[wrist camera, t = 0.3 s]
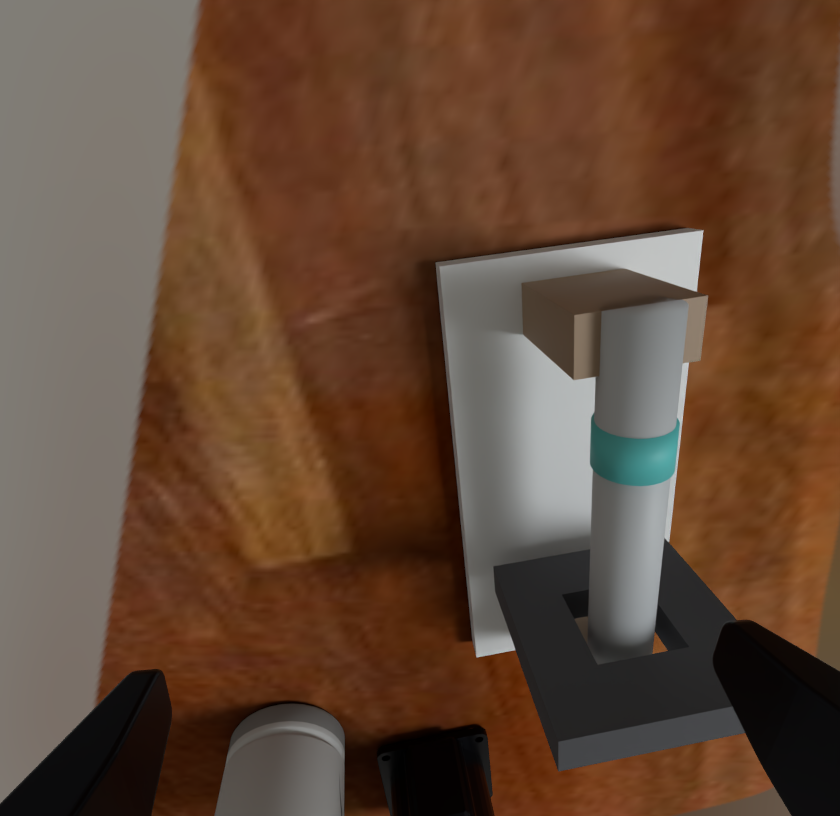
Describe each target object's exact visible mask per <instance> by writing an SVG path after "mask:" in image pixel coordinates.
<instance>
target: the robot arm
mask: <svg viewBox="0 0 840 816" xmlns="http://www.w3.org/2000/svg"><path fill="white" fill-rule="evenodd" d="M712 662H713V667H714V670H715V673H716V675H717V677H718V679H719V681H720V683H721V685H722V687H723V689H724V691H725V693H726V695H727V697H728V699H729V701H730V703H731V705H732V707H733V709H734V711H735V713H736V715H737V717H738V719H739V721H740V723H741V725H742V727H743V729H744V731H745V733H746V735H747V737H748V739H749V741H750V743H751V745H752V747H753V749H754V751H755V753H756V755H757V757H758V759H759V761H760V763H761V765H762V766H763V768H764V770H765V772H766V774H767V775H768V777H769V779H770V780H771V782H772V784H773V786H774V787H775V789H776V790H777V792H778V794H779V796H780V797H781V799H782V800H783V802H784V804H785V806H786V807H787V809H788V811H789V812H790V814H791V816H840V671H838V670H836V669H835V668H833V667H831V666H830V665H828V664H826V663H824V662H823V661H821V660H819V659H818V658H816V657H814V656H812V655H811V654H809V653H807V652H806V651H804V650H802V649H800V648H799V647H797V646H795V645H793V644H792V643H790V642H788V641H787V640H785V639H783V638H781V637H780V636H778V635H776V634H775V633H773V632H771V631H769V630H768V629H766V628H764V627H763V626H761V625H759V624H757V623H755V622H754V621H751V620H735V621H728V622H726V623H725V624H723V626H722V628H721V631H720V634H719V637H718V640H717V643H716V646H715V649H714V652H713V656H712ZM171 719H172V707H171V702H170V698H169V693H168V689H167V685H166V681H165V676H164V674H163V672H162V671H161V670H159V669H151V670H139V671H134V672H132V673H130V674H129V675H127V676H126V677H125V678H124V679H123V680H122V681H121V682H120V683H119V684H118V685H117V686H116V687H115V688H114V689H113V690H112V691H111V692H110V693H109V694H108V695H107V696H106V697H105V698H104V699H103V700H102V701H101V702H100V703H99V704H98V705H97V706H96V707H95V708H94V709H93V710H92V711H91V712H90V713H89V715H88V716H87V717H86V718H85V719H84V720H83V721H82V722H81V723H80V724H79V725H78V726H77V727H76V728H75V729H74V730H73V731H72V732H71V733H70V734H69V735H68V736H67V737H66V738H65V739H64V740H63V741H62V742H61V743H60V744H59V745H58V746H57V747H56V748H55V749H54V750H53V751H52V752H51V753H50V754H49V755H48V756H47V757H46V758H45V759H44V760H43V761H42V762H41V763H40V764H39V765H38V766H37V767H36V768H35V769H34V770H33V771H32V772H31V773H30V774H29V775H28V776H27V777H26V778H25V779H24V780H23V781H22V782H21V783H20V784H19V785H18V786H17V787H16V788H15V789H14V790H13V791H12V792H11V793H10V794H9V796H7V797H6V798H5V799H4V800H3V802H1V804H0V816H151V814H152V809H153V804H154V800H155V795H156V790H157V786H158V781H159V777H160V772H161V767H162V763H163V758H164V754H165V749H166V744H167V740H168V735H169V730H170V726H171ZM377 760H378V765H379V769H380V773H381V777H382V782H383V786H384V790H385V794H386V799H387V803H388V807H389V811H390V815H391V816H494V811H493V807H492V803H491V797H492V794H493V793H492V782H491V771H490V760H489V749H488V738H487V734H486V731H485V729H484V728H481V727H478V728H472V729H467V730H462V731H457V732H452V733H447V734H442V735H437V736H432V737H427V738H422V739H417V740H412V741H407V742H402V743H397V744H392V745H387V746H383V747H380V748H379V749H378V750H377Z"/></svg>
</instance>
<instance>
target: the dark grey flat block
mask: <svg viewBox="0 0 840 816" xmlns="http://www.w3.org/2000/svg"><path fill="white" fill-rule="evenodd" d="M493 570H494V584H495V593H496V596H497V599H498V601H499V604H500V607H501V610H502V613H503V616H504V618H505V621H506V624H507V627H508V630H509V633H510V635H511V638H512V641H513V644H514V647H515V650H516V652H517V655H518V658H519V661H520V664H521V667H522V669H523V672H524V675H525V678H526V681H527V684H528V686H529V689H530V692H531V695H532V698H533V701H534V703H535V706H536V709H537V712H538V715H539V718H540V720H541V723H542V726H543V729H544V732H545V735H546V737H547V740H548V743H549V746H550V749H551V752H552V754H553V757H554V760H555V763H556V766H557V769H558V771H563V770H568V769H572V768H577V767H582V766H587V765H592V764H597V763H601V762H606V761H611V760H616V759H621V758H626V757H631V756H635V755H640V754H645V753H650V752H655V751H660V750H664V749H669V748H674V747H679V746H684V745H689V744H693V743H698V742H703V741H708V740H713V739H718V738H722V737H727V736H732V735H737V734H742V733H745V731H744V729H743V727H742V725H741V723H740V721H739V719H738V717H737V715H736V713H735V711H734V709H733V707H732V705H731V703H730V701H729V699H728V697H727V695H726V693H725V691H724V689H723V687H722V685H721V683H720V681H719V679H718V677H717V675H716V673H715V670H714V667H713V662H712V656H713V652H714V649H715V646H716V643H717V640H718V637H719V634H720V631H721V628H722V626H723V624H725V623H726V622H728V621H735V620H736V619H735V618H734V616H733V615H732V614H731V613H730V612H729V611H728V610H727V608H726V607H725V606H724V605H723V604H722V603H721V602H720V600H719V599H718V598H717V597H716V596H715V595H714V594H713V592H712V591H711V590H710V589H709V588H708V587H707V586H706V584H705V583H704V582H703V581H702V580H701V579H700V578H699V577H698V575H697V574H696V573H695V572H694V571H693V570H692V569H691V567H690V566H689V565H688V564H687V563H686V562H685V561H684V559H683V558H682V557H681V556H680V555H679V554H678V553H677V551H676V550H675V549H674V548H673V547H672V546H671V545H670V543H669V542H668V541H667V540H666V539H665V538H664V546H663V556H662V566H661V575H660V585H659V594H658V604H657V613H656V623H655V632H656V634H657V635H658V636H659V638H660V639H661V641H662V642H663V644H664V645H665V647H666V648H667V650H668V651H666V652H661V653H656V654H650V655H645V656H640V657H635V658H630V659H625V660H619V661H614V662H609V663H604V664H599V665H598V664H597V662H596V660H595V659H594V657H593V655H592V653H591V651H590V649H589V647H588V645H587V643H586V641H585V639H584V637H583V635H582V633H581V631H580V629H579V627H578V625H577V623H576V621H575V619H576V618H581V617H587V616H588V606H589V573H590V549H588V550H582V551H577V552H571V553H566V554H560V555H554V556H549V557H543V558H537V559H532V560H526V561H521V562H515V563H509V564H504V565H498V566H493Z"/></svg>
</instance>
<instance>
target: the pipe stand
mask: <svg viewBox="0 0 840 816" xmlns="http://www.w3.org/2000/svg"><path fill="white" fill-rule="evenodd" d="M702 238H703V230H698V229H691V228H684V229H677V230H669V231H662V232H655V233H647V234H640V235H633V236H625V237H618V238H611V239H603V240H596V241H589V242H581V243H574V244H567V245H559V246H552V247H545V248H537V249H530V250H523V251H515V252H508V253H501V254H493V255H486V256H479V257H471V258H464V259H457V260H449V261H442V262H435V264H436V275H437V285H438V295H439V305H440V316H441V326H442V336H443V346H444V356H445V367H446V377H447V387H448V397H449V408H450V418H451V428H452V438H453V448H454V459H455V469H456V479H457V489H458V499H459V510H460V520H461V530H462V540H463V551H464V561H465V571H466V581H467V591H468V602H469V612H470V622H471V632H472V642H473V646H474V650H475V653H476V657H481V656H487V655H492V654H497V653H502V652H508V651H513V650H515V647H514V644H513V641H512V638H511V635H510V633H509V630H508V627H507V624H506V621H505V618H504V616H503V613H502V610H501V607H500V604H499V601H498V599H497V596H496V593H495V584H494V570H493V566H498V565H504V564H509V563H515V562H521V561H526V560H532V559H537V558H543V557H549V556H554V555H560V554H566V553H571V552H577V551H582V550H588V549H590V573H589V606H588V616H587V617H581V618H576V619H575V621H576V623H577V625H578V627H579V629H580V631H581V633H582V635H583V637H584V639H585V641H586V643H587V645H588V647H589V649H590V651H591V653H592V655H593V657H594V659H595V660H596V662H597V664H598V665H599V664H604V663H609V662H614V661H619V660H625V659H630V658H635V657H640V656H645V655H650V654H652V652H653V642H654V632H655V623H656V613H657V604H658V594H659V585H660V575H661V566H662V556H663V546H664V538H665V539H666V540H667V541H668V542H669V538H670V529H671V520H672V511H673V502H674V493H675V484H676V475H677V466H678V456H679V447H680V438H681V429H682V420H683V411H684V402H685V393H686V384H687V374H688V365H689V362H695V361H700V359H701V350H702V342H703V334H704V325H705V317H706V309H707V300H708V295H705V294H702V293H698V292H697V283H698V274H699V265H700V256H701V247H702Z"/></svg>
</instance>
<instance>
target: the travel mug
mask: <svg viewBox="0 0 840 816" xmlns="http://www.w3.org/2000/svg"><path fill="white" fill-rule="evenodd" d="M344 763H345V735H344V731H343V728H342V727H341V725H340V724H339V722H338V721H337V720H336V719H335V718H334V717H333V716H332V715H331V714H329V713H328V712H326V711H324V710H322V709H319V708H317V707H314V706H310V705H305V704H294V703H291V704H280V705H275V706H270V707H267V708H264V709H261V710H259V711H257V712H255V713H253V714H251V715H250V716H248V717H247V718H246V719H244V720H243V721H242V722H241V723H240V724H239V725H238V727H237V728H236V729H235V730H234V732H233V734H232V736H231V741H230V745H229V750H228V755H227V759H226V765H225V769H224V774H223V778H222V783H221V788H220V793H219V797H218V802H217V807H216V811H215V816H344V772H345V766H344Z"/></svg>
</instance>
